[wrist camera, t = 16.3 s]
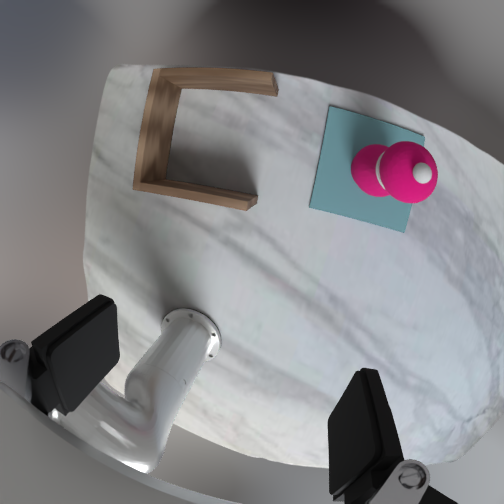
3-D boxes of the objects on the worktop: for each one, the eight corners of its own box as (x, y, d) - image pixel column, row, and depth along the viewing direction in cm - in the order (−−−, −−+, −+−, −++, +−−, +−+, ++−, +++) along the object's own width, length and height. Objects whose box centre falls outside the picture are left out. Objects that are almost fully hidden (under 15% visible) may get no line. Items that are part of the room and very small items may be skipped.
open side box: (256, 203, 42) (246, 210, 34) (158, 185, 44) (132, 189, 36) (278, 89, 36) (272, 72, 28) (176, 82, 38) (153, 68, 30)
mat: (403, 232, 39) (404, 232, 38) (309, 207, 41) (309, 207, 40) (423, 137, 34) (425, 137, 33) (329, 106, 35) (329, 106, 35)
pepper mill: (337, 164, 37) (369, 160, 19) (373, 137, 35) (430, 114, 16) (366, 203, 38) (417, 234, 19) (400, 176, 36) (471, 187, 17)
